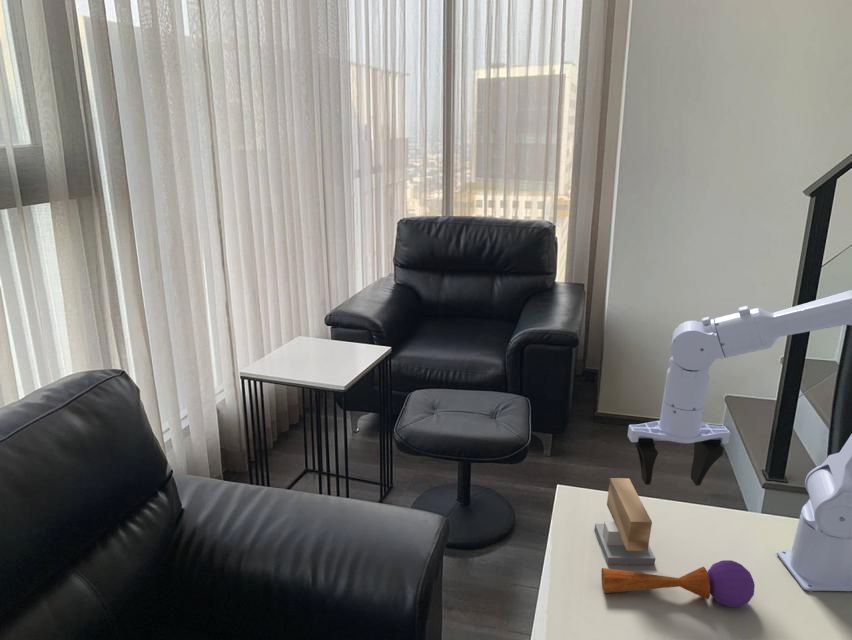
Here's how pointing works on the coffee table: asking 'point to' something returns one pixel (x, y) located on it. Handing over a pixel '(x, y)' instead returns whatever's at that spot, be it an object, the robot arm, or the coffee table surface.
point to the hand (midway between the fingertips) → (670, 481)
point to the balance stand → (620, 547)
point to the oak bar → (629, 514)
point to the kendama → (690, 582)
